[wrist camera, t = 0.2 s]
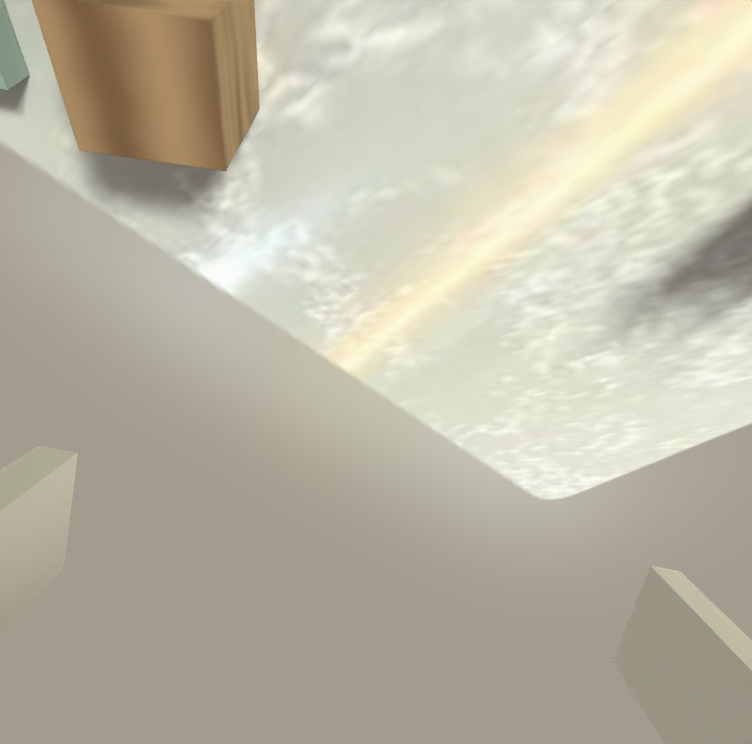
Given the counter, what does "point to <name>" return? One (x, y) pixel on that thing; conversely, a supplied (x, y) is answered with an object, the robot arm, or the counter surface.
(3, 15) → the board
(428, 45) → the counter surface
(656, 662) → the robot arm
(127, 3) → the block
